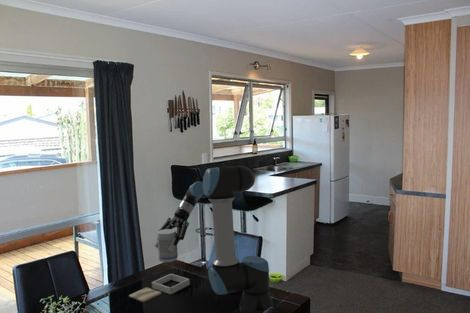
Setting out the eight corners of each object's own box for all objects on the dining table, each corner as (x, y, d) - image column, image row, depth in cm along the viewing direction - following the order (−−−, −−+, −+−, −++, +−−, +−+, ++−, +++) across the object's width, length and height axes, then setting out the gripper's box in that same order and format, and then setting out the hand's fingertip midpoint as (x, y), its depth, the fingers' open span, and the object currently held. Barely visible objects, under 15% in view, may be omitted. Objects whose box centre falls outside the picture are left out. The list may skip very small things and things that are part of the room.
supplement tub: (180, 260, 202) (179, 231, 200) (163, 264, 197) (161, 235, 195) (172, 254, 210) (171, 227, 209) (155, 258, 205) (154, 230, 203)
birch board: (161, 293, 196) (161, 292, 196) (144, 302, 188) (143, 300, 188) (146, 288, 203) (146, 287, 203) (128, 296, 194) (128, 295, 194)
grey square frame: (189, 284, 206) (189, 279, 206) (170, 294, 196) (170, 288, 195) (171, 278, 215) (170, 273, 214) (151, 287, 204) (151, 282, 203)
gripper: (203, 218, 207) (182, 256, 196) (172, 212, 220) (152, 248, 209) (195, 210, 202) (174, 249, 191) (165, 205, 216) (144, 241, 205)
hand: (163, 248), depth 200 cm, fingers closed on supplement tub, 9 cm apart
